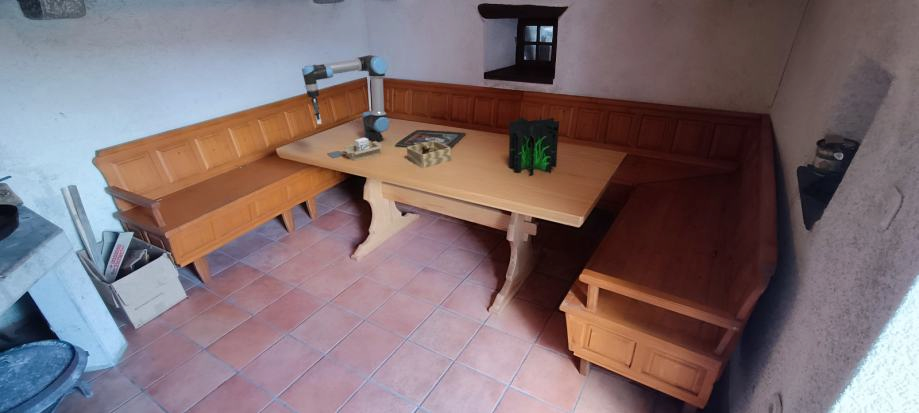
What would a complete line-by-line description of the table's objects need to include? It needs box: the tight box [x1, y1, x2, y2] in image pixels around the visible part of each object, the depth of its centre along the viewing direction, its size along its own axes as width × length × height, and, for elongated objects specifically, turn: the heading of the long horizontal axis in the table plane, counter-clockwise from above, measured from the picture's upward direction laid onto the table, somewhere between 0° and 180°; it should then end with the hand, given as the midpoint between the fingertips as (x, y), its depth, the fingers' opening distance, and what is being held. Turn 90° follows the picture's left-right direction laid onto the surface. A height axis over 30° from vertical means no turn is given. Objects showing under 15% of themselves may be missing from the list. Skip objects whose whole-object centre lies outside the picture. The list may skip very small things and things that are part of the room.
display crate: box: [406, 140, 452, 169], centre depth 292 cm, size 23×22×9 cm
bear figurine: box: [422, 144, 434, 154], centre depth 291 cm, size 14×15×12 cm
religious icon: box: [395, 129, 467, 149], centre depth 331 cm, size 40×45×3 cm
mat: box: [326, 150, 345, 159], centre depth 311 cm, size 9×12×1 cm
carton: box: [342, 141, 383, 162], centre depth 307 cm, size 26×22×6 cm
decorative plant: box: [508, 115, 560, 177], centre depth 267 cm, size 29×30×30 cm
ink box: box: [354, 137, 369, 151], centre depth 306 cm, size 9×5×12 cm, turn 137°
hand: (318, 121), depth 293 cm, fingers open, 13 cm apart
